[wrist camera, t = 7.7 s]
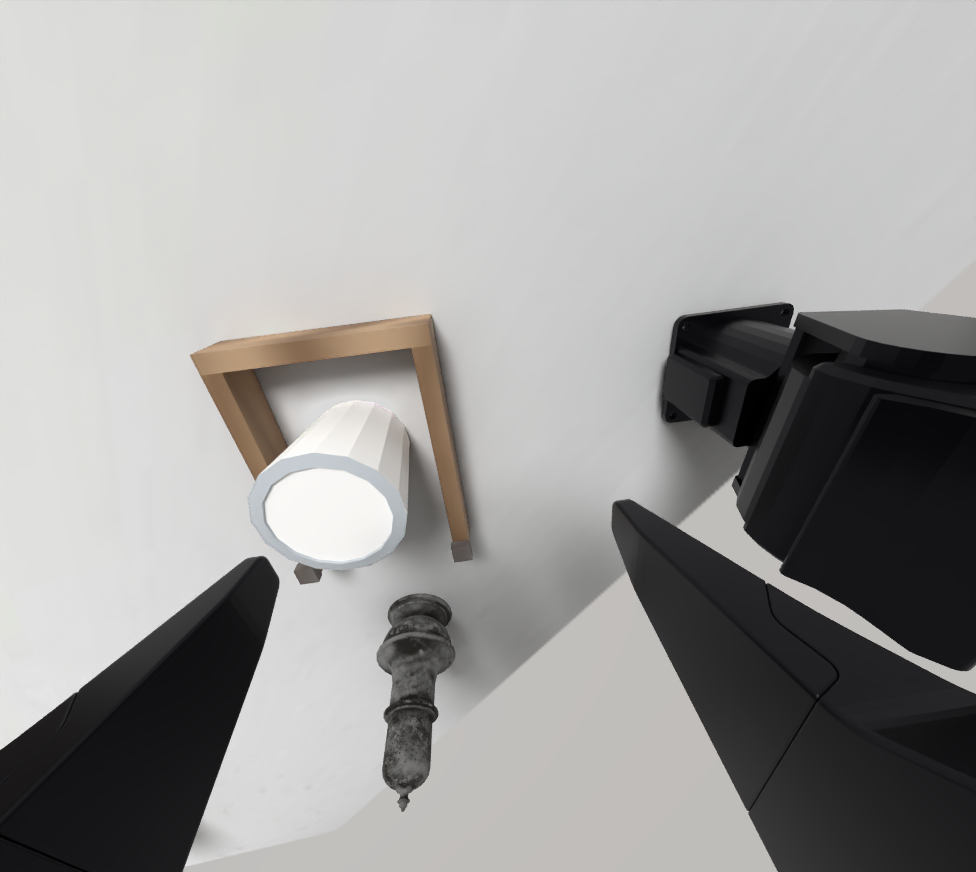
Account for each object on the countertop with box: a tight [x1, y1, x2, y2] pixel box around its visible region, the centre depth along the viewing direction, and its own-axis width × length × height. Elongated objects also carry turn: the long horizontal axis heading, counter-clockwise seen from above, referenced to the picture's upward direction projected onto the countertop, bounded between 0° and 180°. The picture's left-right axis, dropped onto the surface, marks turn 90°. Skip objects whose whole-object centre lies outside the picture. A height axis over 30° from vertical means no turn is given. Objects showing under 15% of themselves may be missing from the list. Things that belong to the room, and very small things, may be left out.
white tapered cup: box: [248, 400, 410, 571], centre depth 19 cm, size 7×7×7 cm
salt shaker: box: [377, 594, 455, 812], centre depth 25 cm, size 6×6×12 cm
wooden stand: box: [190, 314, 473, 584], centre depth 21 cm, size 11×15×3 cm
